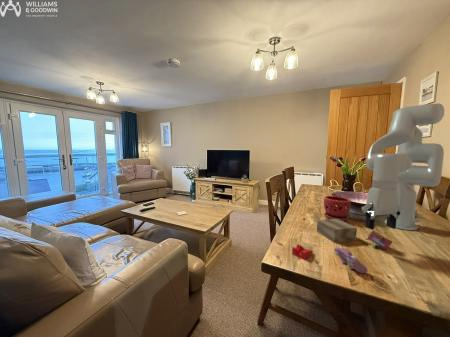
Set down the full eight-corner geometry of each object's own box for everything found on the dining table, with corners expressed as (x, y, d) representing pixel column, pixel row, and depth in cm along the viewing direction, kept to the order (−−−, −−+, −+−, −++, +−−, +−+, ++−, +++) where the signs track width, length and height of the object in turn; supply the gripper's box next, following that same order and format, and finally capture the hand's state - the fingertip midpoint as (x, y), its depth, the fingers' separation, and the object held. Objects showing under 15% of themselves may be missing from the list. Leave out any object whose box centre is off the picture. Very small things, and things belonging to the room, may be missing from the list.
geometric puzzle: (398, 244, 74) (383, 225, 77) (395, 250, 70) (380, 230, 73) (378, 249, 79) (366, 231, 82) (375, 255, 75) (361, 235, 78)
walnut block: (336, 230, 93) (337, 218, 93) (355, 240, 83) (356, 227, 82) (316, 232, 91) (317, 220, 91) (334, 243, 80) (335, 229, 80)
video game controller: (336, 261, 70) (329, 245, 69) (347, 255, 70) (340, 240, 69) (357, 279, 60) (349, 261, 59) (370, 273, 60) (362, 255, 59)
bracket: (304, 260, 68) (304, 253, 68) (292, 255, 72) (292, 247, 71) (312, 254, 72) (312, 247, 72) (300, 249, 76) (300, 242, 75)
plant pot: (349, 224, 100) (351, 202, 99) (322, 219, 107) (323, 198, 105) (349, 217, 111) (350, 197, 110) (324, 213, 118) (325, 194, 116)
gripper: (393, 183, 78) (389, 223, 80) (356, 183, 76) (353, 224, 78) (414, 187, 71) (409, 231, 73) (373, 187, 69) (369, 232, 70)
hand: (380, 227), depth 75 cm, fingers open, 9 cm apart
